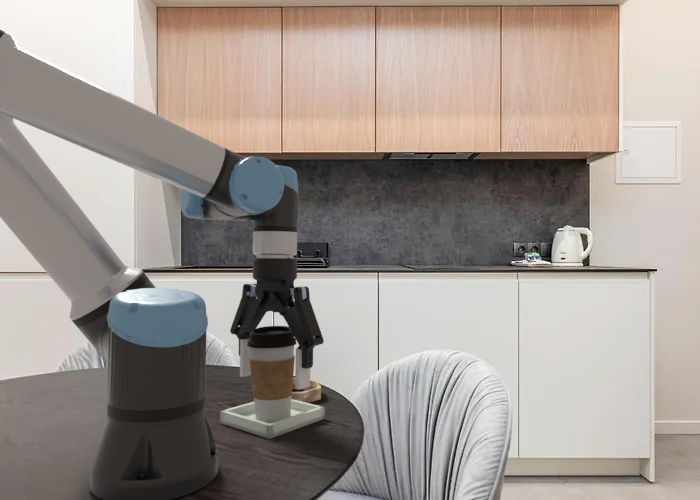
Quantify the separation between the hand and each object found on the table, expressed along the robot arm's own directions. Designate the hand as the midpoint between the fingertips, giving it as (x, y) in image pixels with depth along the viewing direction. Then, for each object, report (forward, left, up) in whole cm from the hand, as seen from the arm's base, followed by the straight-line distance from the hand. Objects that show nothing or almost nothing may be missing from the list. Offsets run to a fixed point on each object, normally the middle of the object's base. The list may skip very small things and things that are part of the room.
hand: (273, 381), depth 88 cm
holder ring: (+13, +9, -7) cm, 17 cm away
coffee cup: (0, 0, -6) cm, 6 cm away
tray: (0, 0, -7) cm, 7 cm away
